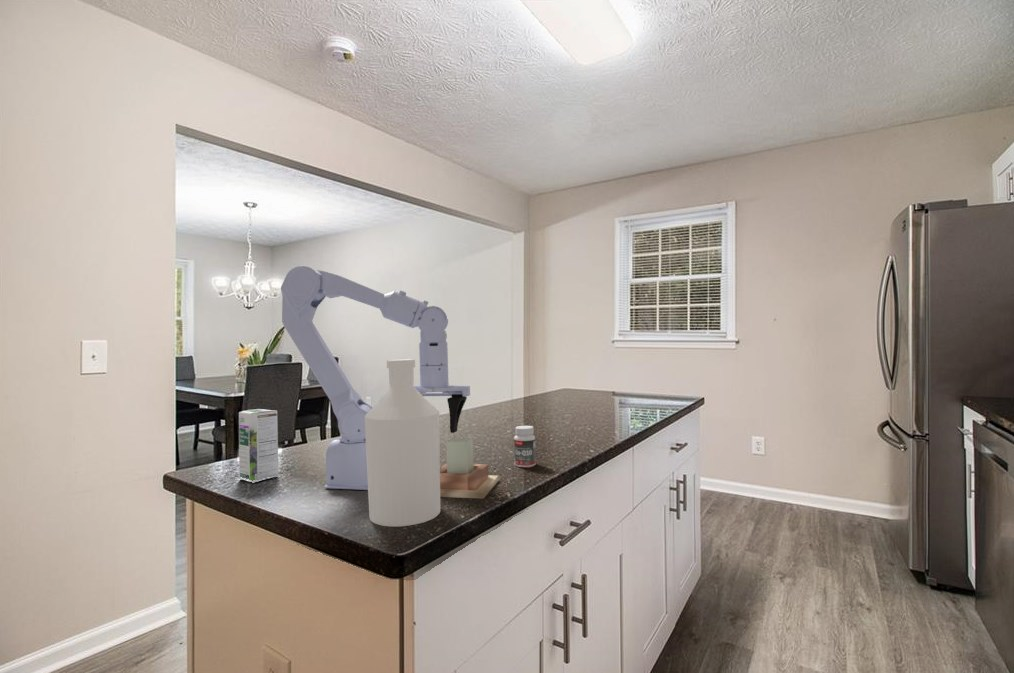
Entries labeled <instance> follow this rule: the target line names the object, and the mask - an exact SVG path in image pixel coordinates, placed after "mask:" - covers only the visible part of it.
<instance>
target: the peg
mask: <svg viewBox="0 0 1014 673" xmlns="http://www.w3.org/2000/svg"><path fill="white" fill-rule="evenodd" d="M445 443H446V447H445V448H446V463H447V473H457V474H470V473H472V472H473V471H474V464H475V463H474V439H473V437H452V438H450V439H449V440H447V441H446V442H445Z"/></svg>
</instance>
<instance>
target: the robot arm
mask: <svg viewBox="0 0 1014 673" xmlns="http://www.w3.org/2000/svg"><path fill="white" fill-rule="evenodd" d="M280 291H281V296H282V297H281V298H282V300H281V301H282V302H281V306H282V308H281V310H282V311H281V321H282V322H281V323H282V325H283V327H284V328H285V330H286V332H287V333H288V335H289V336H290V339H291V340H292V342H293V343H294V345H295V346H296V348H297V350H298V351H299V353H300V354H301V356H302V357H303V359H304V360H305V363H306V364H307V366H308V367H309V369H310V371H311V372H312V373H313V375H314V377H315V378H316V380H317V382H318V383H319V385H320V387H321V388H322V390H323V391H324V393H325V394H326V396H327V398H328V399H329V402H330V404H331V408H332V412H333V413H334V416H335V417H336V419H337V424H338V425H337V427H338V430H339V433H340V436H339V438H337V439H332V441H330V443H329V444H328V446H327V449H326V453H325V467H326V468H325V470H326V484H325V485H324V489H333V490H334V489H335V490H337V489H338V490H339V489H341V490H356V491H357V490H360V491H362V490H363V491H368V477H367V456H366V434H365V415H366V414H367V413H368V412H369V411H370V410H371V409H372V408H373V407H372V406H371V405H370V404H369V403H367V402H365V400H363V398H362V397H361V395H360V394H359V393H358V392H357V390H355V388H354V387H353V386H352V384H351V382H350V381H349V379H348V378H347V375H346V374H345V373H344V371H343V370H342V368H341V365H339V363H338V362H337V361H338V360H336V358H335V357H334V354H333V353H332V352H331V350H330V348H329V347H328V345H327V343H326V342H325V340H324V339H323V337H322V335H321V334H320V332H319V330H318V329H317V327H316V325H315V324H314V323H313V321H314V320H313V319H314V317H315V314H316V311H317V309H318V306H320V305H321V303H322V302H324V300H325V298H326V297H327V298H328V299H334V298H339V297H344V298H346V299H347V298H348V299H350V300H353V301H356V302H360V303H361V304H362V303H363V304H364V305H368V306H371V307H374V308H375V309H379V310H380V312H381V313H380V314H382V317H383V318H384V319H387V320H390V321H392V322H395V323H398V324H401V325H404V326H405V327H408V328H411V329H414V328H418V329H419V330H420V331H419V332H420V333H419V334H420V336H419V338H420V342H419V344H418V350H419V352H418V354H419V383H420V384H419V385H417V386H416V385H415V386H414V385H413V386H414V387H415V388H416V389H417V390H418V391H419V393H420V394H421V395H422V396H423V397H449V398H447V406H448V411H449V412H448V413H449V431H450V433H451V434H454V433H457V431H458V426H459V421H460V416H461V413H462V410H463V408H464V406H465V403H466V401H467V397H470V396H471V386H470V385H449V358H448V356H449V354H448V353H449V352H448V351H449V350H448V342H447V338H448V336H447V332H446V331H447V330H446V329H447V327H448V324H449V319H448V317H447V316H448V315H447V314H446V312H445V310H444V309H442V308H441V307H439V306H436V305H431V306H430V305H429V301H427V300H424V299H423V301H420V299H419V300H418V299H416V298H413V297H411V296H408V295H407V292H405V291H404V290H399V292H397V291H395V290H393V291H390V292H388V293H382V292H380V291H377V290H375V289H373V288H370V287H368V286H365V285H363V284H361V283H359V282H356V281H353V280H351V279H348V278H346V277H343V276H342V275H338V274H335V273H332V272H328V271H325V270H321V269H320V270H319V269H317V271H316V270H315V269H313V268H311V267H309V266H307V265H306V266H305V265H299V266H296V267H292V268H291V269H290V270H289V271H288V272H287V274H286V275H285V278H284V280H283V281H282V283H281V286H280ZM428 305H429V306H428Z"/></svg>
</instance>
